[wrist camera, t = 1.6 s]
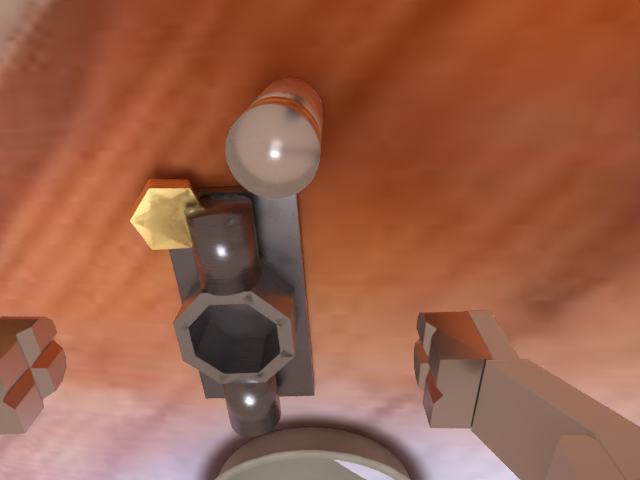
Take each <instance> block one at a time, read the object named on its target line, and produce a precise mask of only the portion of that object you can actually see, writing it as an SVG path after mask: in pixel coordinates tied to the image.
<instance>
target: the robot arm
mask: <svg viewBox="0 0 640 480" xmlns="http://www.w3.org/2000/svg"><path fill="white" fill-rule="evenodd" d="M417 330H418V333H419V337H420V339H419V340H418V341H417V342H416V343H415V348H414V369H415V375H416V380H417V383H418V386H419V387H420V388H421V389H422V390H423V391H424V396H423V405H424V408H425V412H426V415H427V418H428V422H429V425H430V428H472V430H471V431H472V432H473V433H474V434H475V435H476V436H477V437H478V438H479V439H480V440H481V441H482V442H483V443H484V444H485V445H486V446H487V447H488V448H489V449H490V450H491V451H492V452H493V453H494V454H495V455H496V456H497V457H498V458H499V459H500V460H501V461H502V462H503V463H504V464H505V465H506V466H507V467H508V468H509V469H510V470H511V471H512V472H513V473H514V474H515V475H516V476H517V477H518V478H519V479H520V480H640V427H639V426H638V425H636V424H634V423H633V422H631V421H629V420H628V419H626V418H624V417H623V416H621V415H619V414H618V413H616V412H614V411H613V410H611V409H609V408H608V407H606V406H604V405H603V404H601V403H599V402H598V401H596V400H594V399H593V398H591V397H589V396H588V395H586V394H584V393H583V392H581V391H579V390H578V389H576V388H574V387H573V386H571V385H569V384H568V383H566V382H564V381H563V380H561V379H559V378H558V377H556V376H554V375H553V374H551V373H550V372H548V371H546V370H545V369H543V368H541V367H540V366H538V365H536V364H535V363H533V362H531V361H530V360H528V359H520V358H519V356H518V354H517V353H516V351H515V349H514V348H513V346H512V345H511V343H510V341H509V340H508V338H507V337H506V335H505V333H504V332H503V330H502V329H501V327H500V325H499V324H498V322H497V321H496V319H495V317H494V316H493V314H492V313H491V312H490V311H488V310H474V311H465V312H421V313H419V316H418V321H417ZM56 334H57V330H56V328H55V325H54V323H53V321H52V320H51V319H49V318H47V317H6V316H2V317H0V434H20V433H26V432H27V430H28V429H29V428H30V426H31V425H32V423H33V422H34V421H35V419H36V418H37V416H38V415H39V414H40V412H41V411H42V409H43V408H44V404H43V399H44V398H45V397H47V396H48V395H50V394H52V393H53V392H55V391H56V390H57V388H58V387H59V385H60V384H61V382H62V381H63V377H64V374H65V370H66V356H65V353H64V350H63V348H62V347H61V346H60V345H58V344H57V343H56V342H55V341H54V340H53V339H54V338H55V336H56Z"/></svg>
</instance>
